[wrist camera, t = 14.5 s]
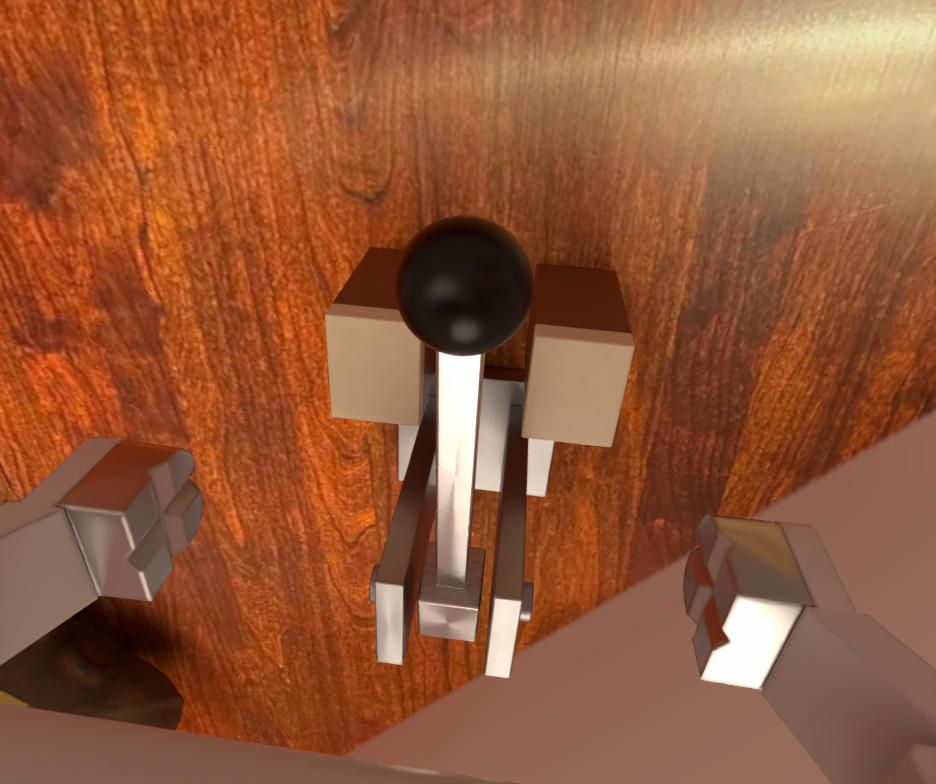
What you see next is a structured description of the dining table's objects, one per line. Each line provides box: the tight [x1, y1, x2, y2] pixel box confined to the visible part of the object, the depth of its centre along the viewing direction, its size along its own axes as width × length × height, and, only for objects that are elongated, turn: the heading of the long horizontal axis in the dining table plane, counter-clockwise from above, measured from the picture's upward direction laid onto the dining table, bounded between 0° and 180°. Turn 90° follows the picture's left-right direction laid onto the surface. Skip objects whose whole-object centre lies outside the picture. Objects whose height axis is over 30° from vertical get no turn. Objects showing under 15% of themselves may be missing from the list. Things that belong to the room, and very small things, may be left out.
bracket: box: [369, 366, 555, 678], centre depth 28 cm, size 7×8×13 cm
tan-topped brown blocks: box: [325, 248, 635, 447], centre depth 26 cm, size 11×4×7 cm, turn 86°
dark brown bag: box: [0, 617, 184, 730], centre depth 43 cm, size 12×20×8 cm, turn 47°
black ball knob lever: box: [394, 215, 534, 641], centre depth 19 cm, size 17×3×3 cm, turn 176°
